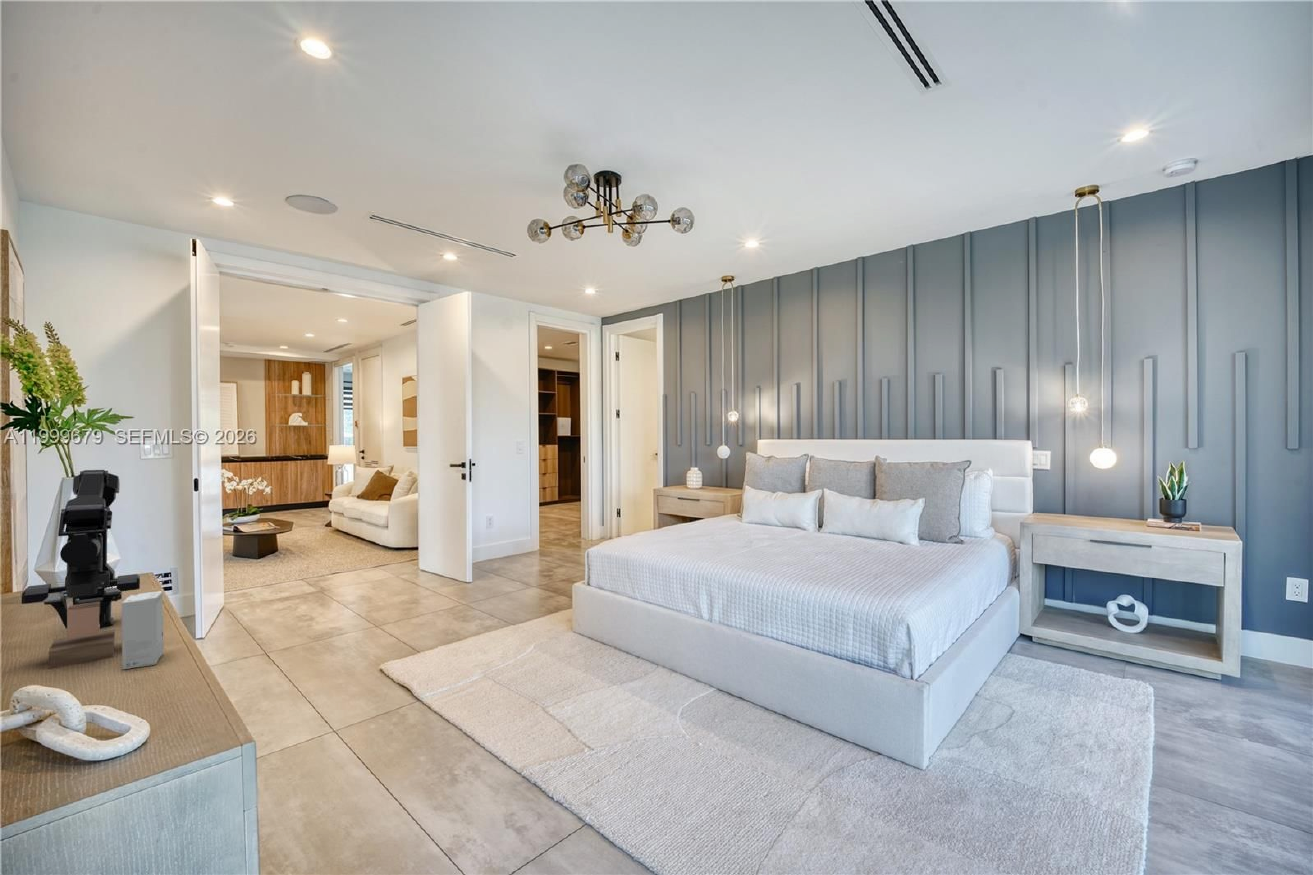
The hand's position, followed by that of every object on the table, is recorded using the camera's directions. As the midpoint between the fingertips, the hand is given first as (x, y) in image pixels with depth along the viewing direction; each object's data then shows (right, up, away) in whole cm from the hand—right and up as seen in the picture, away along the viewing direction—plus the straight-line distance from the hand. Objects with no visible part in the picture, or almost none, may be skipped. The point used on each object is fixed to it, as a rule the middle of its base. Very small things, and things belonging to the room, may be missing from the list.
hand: (83, 625), depth 128 cm
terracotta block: (0, -2, 0) cm, 2 cm away
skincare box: (+16, -7, -3) cm, 18 cm away
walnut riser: (0, -7, 0) cm, 7 cm away
